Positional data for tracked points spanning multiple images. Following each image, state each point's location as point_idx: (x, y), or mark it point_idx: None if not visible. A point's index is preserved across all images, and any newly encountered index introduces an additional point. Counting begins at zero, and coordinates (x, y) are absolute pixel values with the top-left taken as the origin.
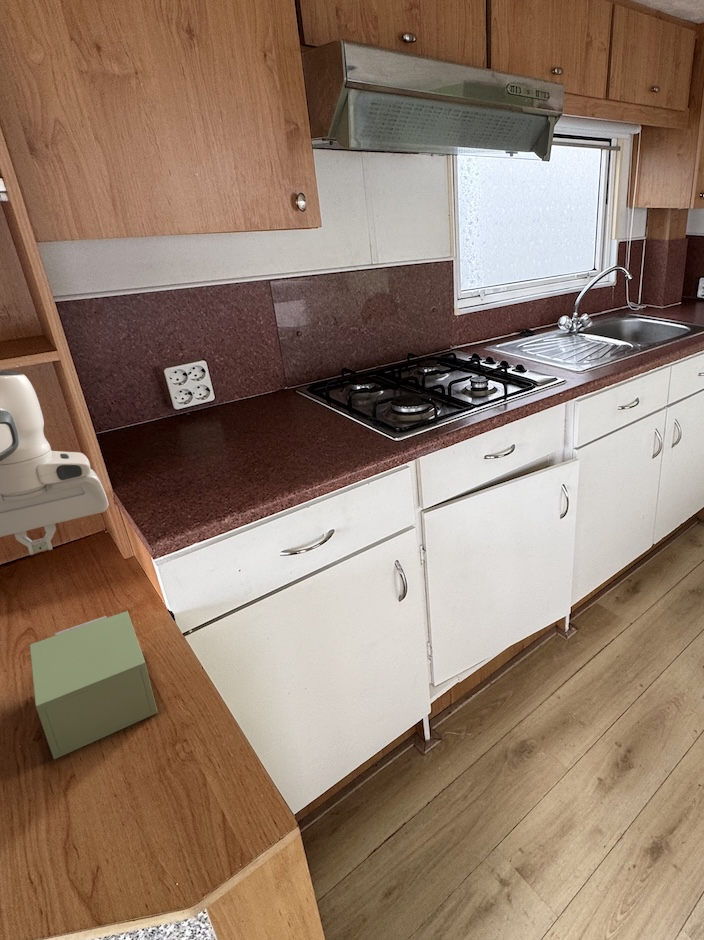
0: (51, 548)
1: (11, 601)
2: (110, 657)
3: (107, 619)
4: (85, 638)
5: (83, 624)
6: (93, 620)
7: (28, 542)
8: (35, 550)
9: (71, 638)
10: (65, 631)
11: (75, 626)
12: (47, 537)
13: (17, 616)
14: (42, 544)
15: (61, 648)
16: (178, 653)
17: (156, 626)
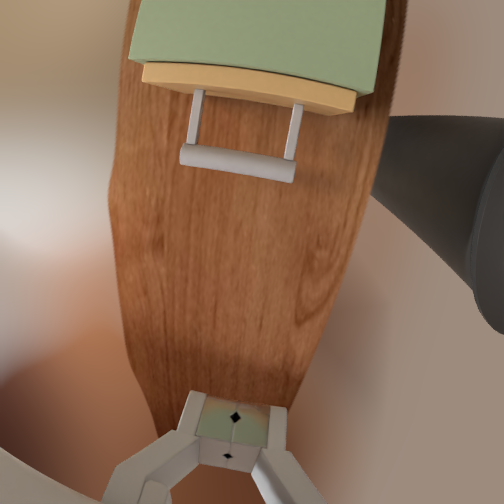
0: (192, 393)
1: (292, 401)
2: None
3: (179, 48)
4: (252, 3)
5: (231, 160)
6: (208, 160)
7: (275, 467)
8: (258, 417)
9: (281, 28)
10: (272, 165)
11: (248, 166)
12: (179, 451)
13: (300, 365)
14: (218, 430)
15: (314, 6)
16: (129, 46)
17: (128, 155)
